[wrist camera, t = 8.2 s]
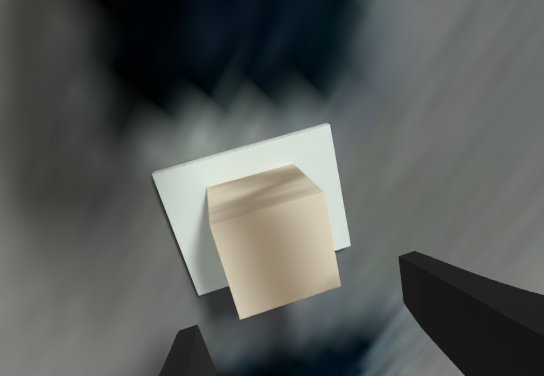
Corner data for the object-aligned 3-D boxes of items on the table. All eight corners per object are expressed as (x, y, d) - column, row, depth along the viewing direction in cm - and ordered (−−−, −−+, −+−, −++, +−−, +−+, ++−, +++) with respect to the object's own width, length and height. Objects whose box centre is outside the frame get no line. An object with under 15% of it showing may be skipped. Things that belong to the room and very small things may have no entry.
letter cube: (293, 163, 19) (323, 191, 14) (309, 241, 21) (341, 288, 16) (206, 187, 18) (209, 225, 14) (231, 265, 20) (241, 322, 15)
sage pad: (325, 123, 19) (329, 124, 19) (346, 241, 22) (350, 245, 21) (153, 171, 18) (151, 174, 17) (198, 289, 21) (198, 295, 20)
